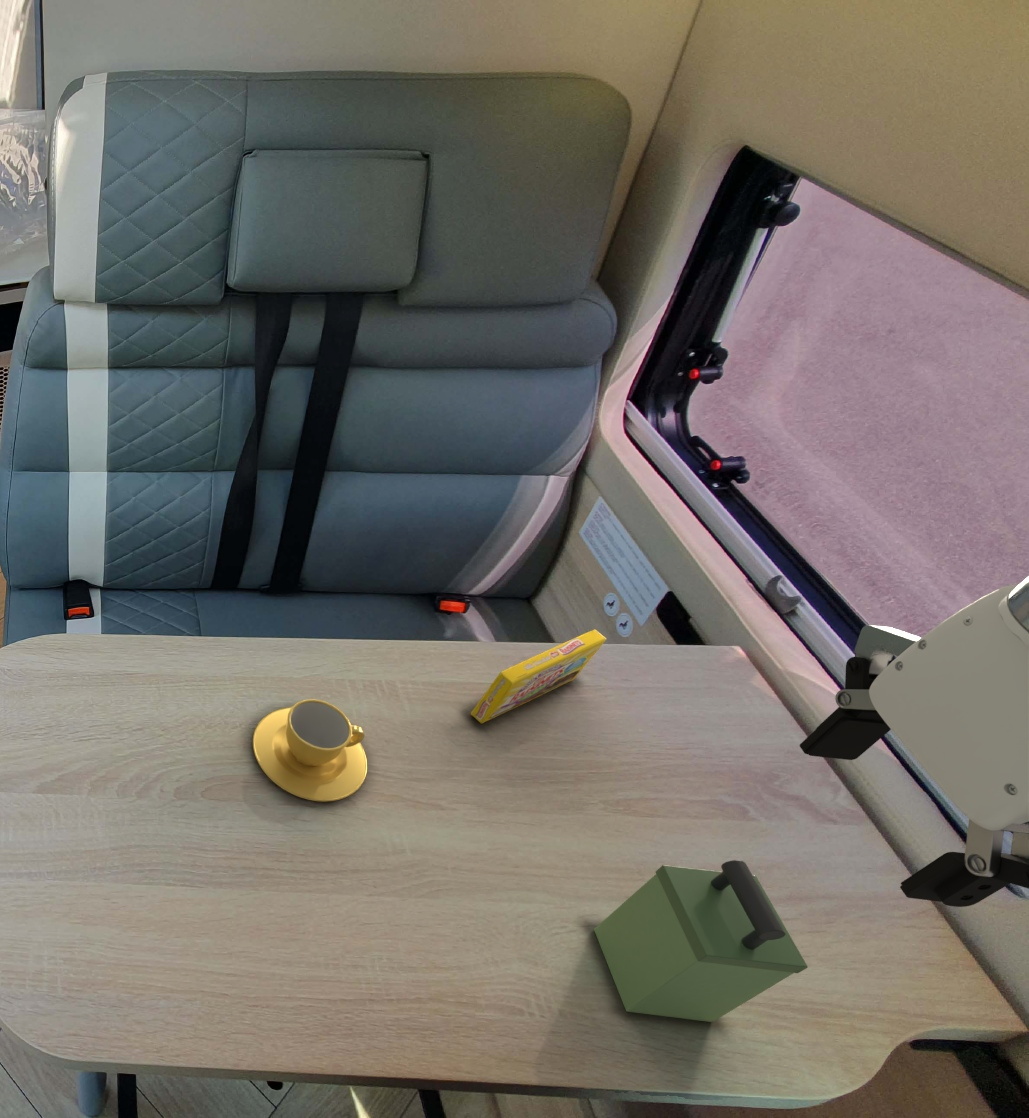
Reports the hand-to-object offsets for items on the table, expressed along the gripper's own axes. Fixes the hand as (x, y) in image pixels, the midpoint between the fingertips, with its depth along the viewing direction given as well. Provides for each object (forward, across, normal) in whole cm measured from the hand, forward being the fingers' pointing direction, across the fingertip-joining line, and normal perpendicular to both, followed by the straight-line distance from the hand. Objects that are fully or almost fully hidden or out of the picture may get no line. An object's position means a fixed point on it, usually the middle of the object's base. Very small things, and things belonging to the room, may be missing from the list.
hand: (873, 819), depth 49 cm
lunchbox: (+29, +3, -3) cm, 30 cm away
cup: (+29, +22, +24) cm, 44 cm away
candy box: (+29, +33, -2) cm, 44 cm away
